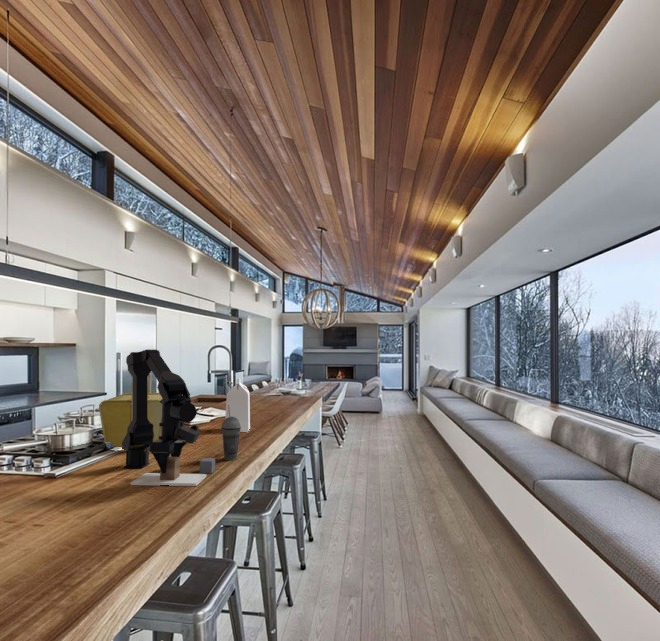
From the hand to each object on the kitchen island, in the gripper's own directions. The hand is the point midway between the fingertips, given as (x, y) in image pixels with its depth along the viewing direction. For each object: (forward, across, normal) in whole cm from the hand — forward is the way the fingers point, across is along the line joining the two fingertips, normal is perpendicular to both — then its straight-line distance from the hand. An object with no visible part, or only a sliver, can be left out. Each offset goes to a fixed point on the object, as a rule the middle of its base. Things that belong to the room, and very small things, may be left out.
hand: (170, 469), depth 142 cm
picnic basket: (+4, +50, +33) cm, 60 cm away
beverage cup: (+4, +28, -12) cm, 31 cm away
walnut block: (+3, 0, 0) cm, 3 cm away
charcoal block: (+4, +11, -8) cm, 14 cm away
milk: (+4, +85, -1) cm, 85 cm away
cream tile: (+4, 0, 0) cm, 4 cm away
